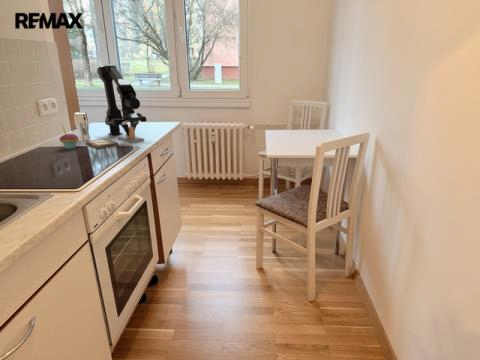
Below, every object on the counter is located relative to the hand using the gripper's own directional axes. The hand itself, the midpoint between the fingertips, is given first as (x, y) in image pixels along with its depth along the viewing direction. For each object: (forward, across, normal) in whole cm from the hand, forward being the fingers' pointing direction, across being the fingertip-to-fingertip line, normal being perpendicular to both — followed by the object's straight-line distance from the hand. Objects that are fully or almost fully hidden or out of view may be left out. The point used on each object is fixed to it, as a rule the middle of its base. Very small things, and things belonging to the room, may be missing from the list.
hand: (130, 135), depth 186 cm
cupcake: (+3, -30, +6) cm, 31 cm away
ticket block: (+2, -16, 0) cm, 17 cm away
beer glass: (+3, -18, +20) cm, 27 cm away
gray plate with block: (+2, 0, 0) cm, 2 cm away
